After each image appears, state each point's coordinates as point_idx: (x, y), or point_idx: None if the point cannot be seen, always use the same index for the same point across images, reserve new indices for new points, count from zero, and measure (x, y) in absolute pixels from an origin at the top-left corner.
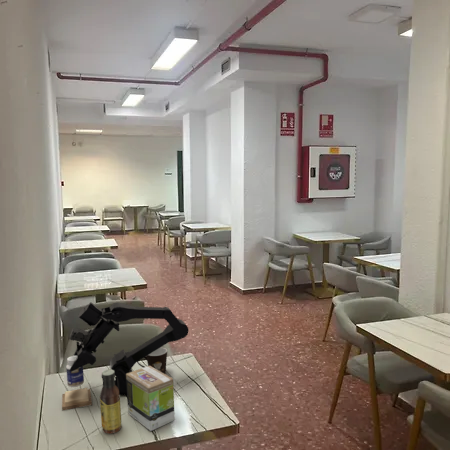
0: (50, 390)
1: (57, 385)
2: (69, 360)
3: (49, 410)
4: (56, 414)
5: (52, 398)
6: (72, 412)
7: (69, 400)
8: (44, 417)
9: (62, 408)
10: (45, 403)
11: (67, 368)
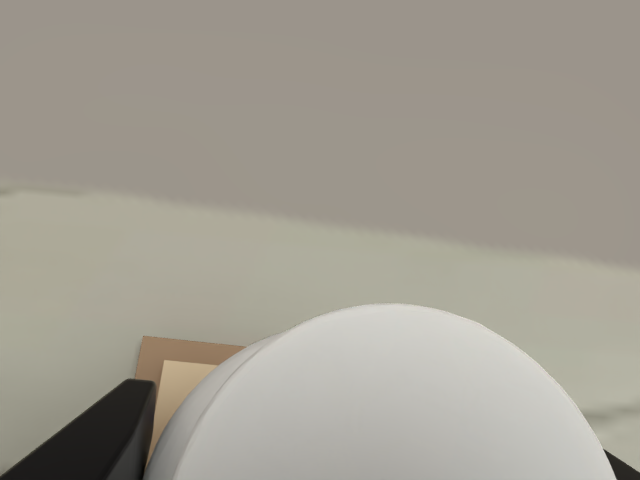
0: (559, 286)
1: (633, 348)
2: (252, 358)
3: (214, 246)
4: (107, 290)
5: (413, 287)
6: (50, 430)
7: (173, 408)
8: (117, 200)
9: (142, 340)
10: (351, 230)
11: (261, 341)
